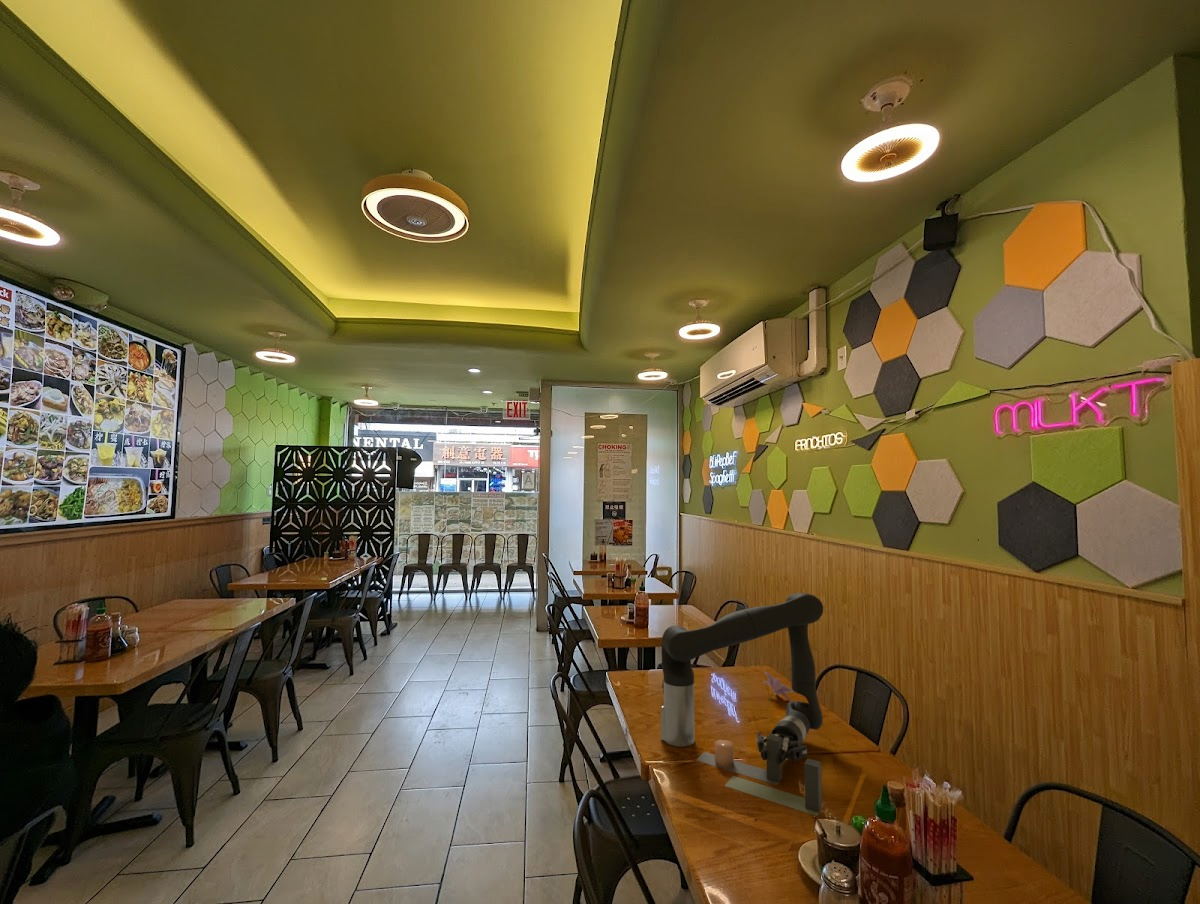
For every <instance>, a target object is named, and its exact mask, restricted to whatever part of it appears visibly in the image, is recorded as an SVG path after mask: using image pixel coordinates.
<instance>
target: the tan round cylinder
mask: <svg viewBox="0 0 1200 904" xmlns="http://www.w3.org/2000/svg"><path fill="white" fill-rule="evenodd" d="M734 746H735V745H734V743H733V742H732V741H730V740H727V739H719V740H718V739H717V740H716V741H714V755H715V764H716V765H718V766H720V767H723V768H730V767H732V766H733V765H734V761H735V758H734V753H735V751H734V750H735V749H734Z"/></svg>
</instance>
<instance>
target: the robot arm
mask: <svg viewBox="0 0 1200 904" xmlns="http://www.w3.org/2000/svg"><path fill="white" fill-rule="evenodd" d="M823 613H824V605H823V602H822V600H820V599H819V598H818V597H817V596H815V595H813V594H811V593H805V592H803V593H800V592H796V593H792V594H790V595H789V596H787V598H786V600H785V602H782V603H777V604H774V605H773V604H772V605H763V606H762V605H761V606H755V607H749V608H745V609H741V610H737V611H733V612H730V613H728V614H726V615H724V616H722V617H721V618H719V619H718V620H717V621H714V622H713V623H712V624H710V625H708V626H705V627H700V628H697V629H691V630H689V629H686V628H685V627H684V626H681V625H677V624H676V625H671V626H669V627H668V628H666V629H665V630H664V632H663V634H662V636H661V667H662V674H663V679H664V694H663V705H662V706H661V707H660V740H662V741H663V742H665V743H666V744H668V745H670V746H673V747H679V748H680V747H682V748H684V747H690V746H692V745H694V743H695V674H694V670H693V667H692V662H691V660H694V659H696V658H698V657H701V656H703V655H706V654H707V653H708V654H709V653H711V652H713V651H716V650H719V649H723V648H724V649H725V648H727V647H731V646H734V645H738V644H743V643H746V642H750V641H753V640H756V639H759V638H762V637H765V636H767V635H771V634H773V633H775V632H779V631H781V630H784V629H787V630H788V631H787V632H788V638H789V645H790V660H791V661H790V664H791V666H790V667H791V670H790V671H791V672H790V674H791V675H790V677H791V690H792V691H794V693H796V694H799V695H800V696H803V697H805V698H806V700H807V702H805V701H799V700H790V701H788V702H787V704H786V705H785V716H784V717H783V718H781V719H780V721H778V722H777V724H776V725H775V726H774V727H773V729H772V730H771V732H770V734H771V735H775V736H779V737H781V741H782V750H780V752H779V753H778V754H777V764H779V765H780V764H781V763H782V764H784V763H785V761H788V760H790V761H791V762H795V761H799V760H800V759H803V758H806V757H807V756H808V747H807V745H806V744H803V743H804V741H805V738H806V736H807V735H808V733H809V731H810V730H819V729H820V728H822V725H823V722H824V720H823V719H824V718H823V717H824V716H823V712H822V708H821V706H820V703H819V699H818V694H817V689H816V688H817V687H816V684H817V683H816V681H817V680H816V679H817V678H816V666H815V665H816V664H815V661H814V656H813V653H812V649H811V645H810V641H809V633H808V632H809V631H808V630H809V629H808V628H809V625H811V624H813V623H816V622H818V621H819V620H820V619H821V617H822V615H823ZM770 734H768V735H767V736H764V735H762V733H758V732H757V733H756V745H757V749H758V752H759V753H760V758H761V760H762V761H766V762H767V750H766V738H767V737H768V736H769V735H770Z"/></svg>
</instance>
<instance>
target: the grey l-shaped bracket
mask: <svg viewBox="0 0 1200 904" xmlns="http://www.w3.org/2000/svg"><path fill="white" fill-rule="evenodd" d="M768 735H769V736H768V737H767V736H766V737H767V738H766V742H765V743H766V750H767V759H766V769H764V768H761V767H758V766H754V765H750V764H748V763H743V762H740V761H737V760H734V765H733V766H732V767H730V768H723V767H720V766H718V765H716V764H715V753H714V754H713V753H710V752H707V751H703V753H702V754H701V755H700V756H698V757H697V758H696V759H695V761H697V762H700V763H703V764H706V765H709V766H712V767H716V768H719V769H723V770H725V771H728V772H732V773H736V774H739V775H741V776H744V777H749V778H752V779H756V780H758V781H761V782H765V783H767V784H768V783H769V784H772V785H774V786H778V785H779V783H780V782H781V781H782V778H783V777H784V775H785V774H783V763H781V764H780V765H779V764H777V754H778V753H779V752H780V750H782V741H781V737H779V736H775V735H771V733H769V734H768Z"/></svg>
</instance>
